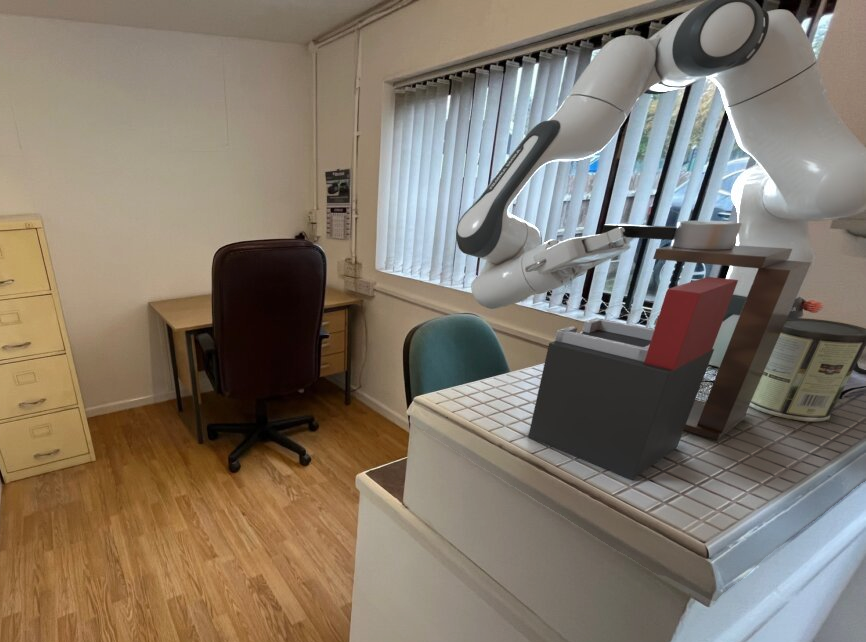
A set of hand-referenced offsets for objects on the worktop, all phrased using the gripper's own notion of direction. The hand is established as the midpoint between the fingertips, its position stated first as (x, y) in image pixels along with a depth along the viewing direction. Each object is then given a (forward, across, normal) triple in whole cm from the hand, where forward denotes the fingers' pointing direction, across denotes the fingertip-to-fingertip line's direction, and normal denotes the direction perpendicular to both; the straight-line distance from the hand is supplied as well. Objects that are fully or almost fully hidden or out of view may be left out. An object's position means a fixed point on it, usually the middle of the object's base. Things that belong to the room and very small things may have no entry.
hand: (634, 230), depth 74 cm
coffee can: (+5, +16, +36) cm, 39 cm away
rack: (-2, 0, +31) cm, 31 cm away
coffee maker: (-5, -20, +30) cm, 36 cm away
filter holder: (+3, 0, +4) cm, 5 cm away
